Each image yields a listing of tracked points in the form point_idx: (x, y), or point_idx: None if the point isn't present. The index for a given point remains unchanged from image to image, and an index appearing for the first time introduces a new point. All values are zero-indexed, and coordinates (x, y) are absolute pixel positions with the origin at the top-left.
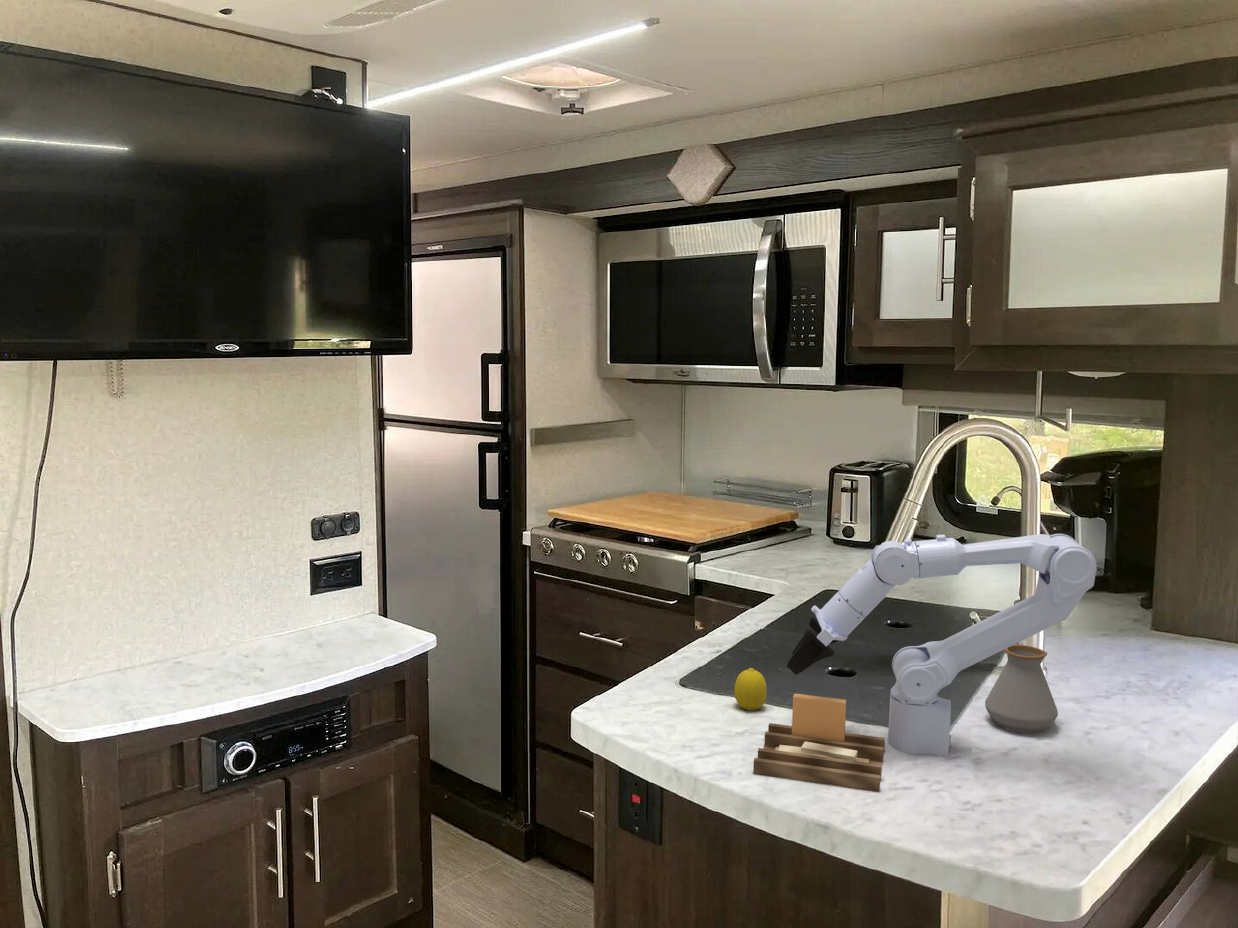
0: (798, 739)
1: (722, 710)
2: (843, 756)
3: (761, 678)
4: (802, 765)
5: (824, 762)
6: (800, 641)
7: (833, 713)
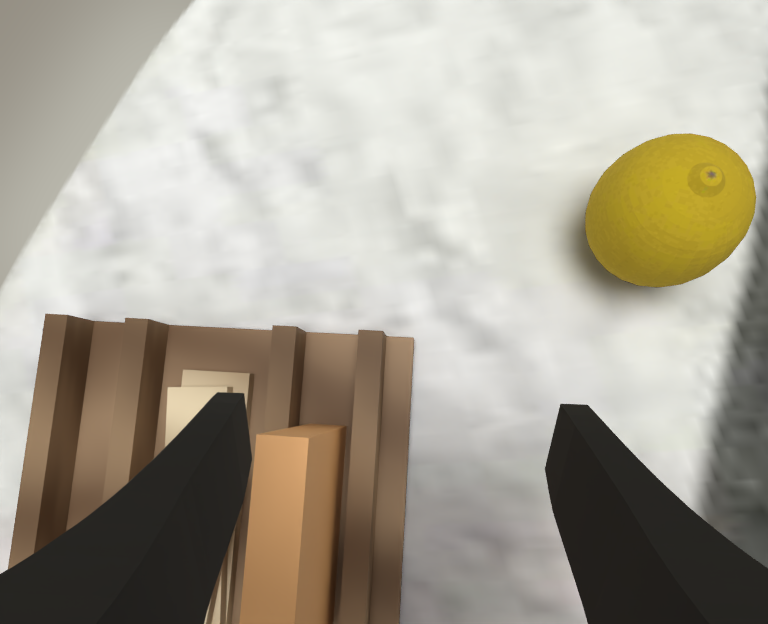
0: None
1: (614, 144)
2: None
3: (675, 244)
4: (34, 483)
5: None
6: (605, 479)
7: None
